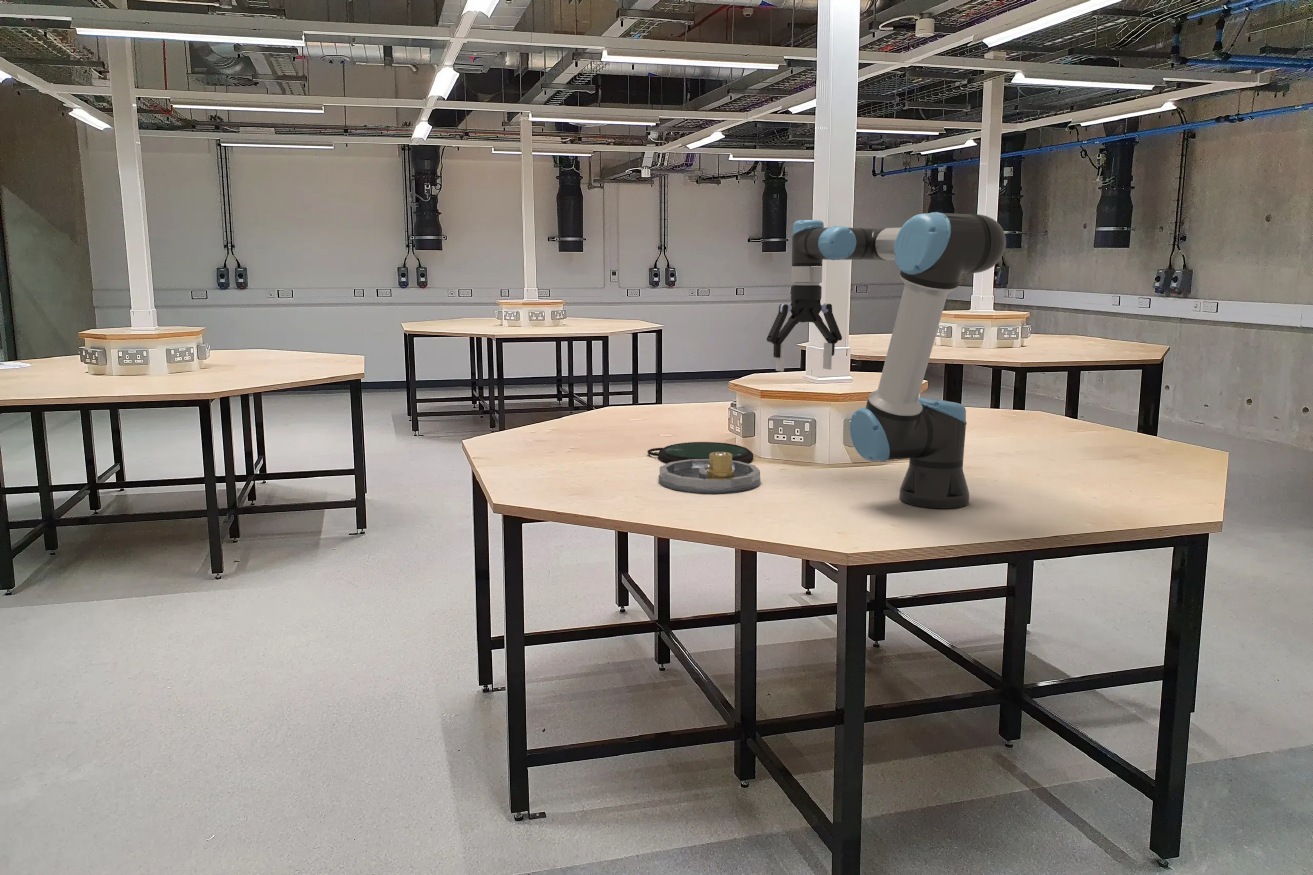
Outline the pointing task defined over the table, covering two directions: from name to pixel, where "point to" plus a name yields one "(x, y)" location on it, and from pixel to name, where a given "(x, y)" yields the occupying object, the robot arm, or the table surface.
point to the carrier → (694, 477)
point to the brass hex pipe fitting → (720, 466)
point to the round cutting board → (700, 451)
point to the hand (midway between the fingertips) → (803, 370)
